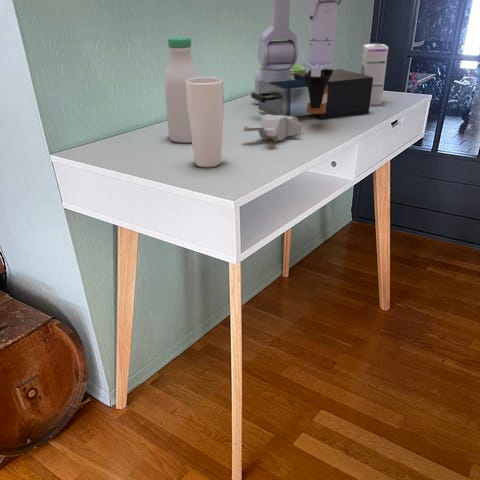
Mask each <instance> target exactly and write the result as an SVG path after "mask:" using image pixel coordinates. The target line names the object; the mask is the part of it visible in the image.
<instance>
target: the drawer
mask: <svg viewBox="0 0 480 480" xmlns="http://www.w3.org/2000/svg"><path fill="white" fill-rule="evenodd" d="M250 97H251V99H253V100H254V101H255V100H258V101H259V102H258V104H257V105H258V106H257V107H258V108H257V109H258V110H260V111H262V112H264V113H266V114H270V115H277V116H278V115H283V116H290V117H300V116H301V117H302V116H308V115H309V114H311V113H308V112H307V104H308V102H307V101H308V86H307V83H306V81H305V80H303V79H300V78H299V79H289V80H278V81H269V83H268V82H265V81H259V94H257V93H255V91H254V92H251V94H250ZM309 116H310V115H309Z"/></svg>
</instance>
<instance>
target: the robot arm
mask: <svg viewBox="0 0 480 480" xmlns="http://www.w3.org/2000/svg"><path fill="white" fill-rule="evenodd" d="M342 1H343V0H306V2H307V16H309V25H308V41H307V58H306V60H303V61H301V67H303V66H305V67H306V68H308V69H309V70H308V71H307V72H308V73H309V74H305V76H304V77H305V81H306V83H307V86H308V90H309V97H310V105H311V108H320V107H321V104H322V99H323V94H324V90H325V87H326V85H327V84H328V81H329V79H330V77H331V75H332V73H333V70H334V69H333V67H334V64H335V62H334V51H335V40H336V28H337V19H338V18H337V17H338V6H339V5H340V4H341V3H342ZM290 14H291V0H270V25H269V27H268V28H266V30H265V31H263V32H262V33H261V34H260V35H259V43H258V47H257V48H258V49H257V60H258V63H259V65H260V66H261V67H258V68H257V69H256V70H255V71H256V72H255V76H254V93H257V94H259V81H265V82H268V83H269V81H278V80H289V79H290V70H291V68H293V65H294V64H297V61H298V57H299V46H298V36H297V34H296V32H294V31H293V30H292V29H291V28H290ZM283 40H284V41H283ZM331 68H332V69H331ZM322 72H324V76H323V74H322ZM258 102H259V101H258V100H255V99H254V101H253V104H254V105H258Z"/></svg>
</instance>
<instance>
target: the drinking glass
mask: <svg viewBox="0 0 480 480" xmlns="http://www.w3.org/2000/svg"><path fill="white" fill-rule="evenodd" d="M224 100H225V99H224V83H223V79H221V78H220V77H213V76H199V77H198V78H191V79H188V80H186V101H187V110H188V117H189V124H190V130H191V137H192V142H191V143H192V151H193V152H192V153H193V162H194V164H195V165H196V166H197V167H200V168H214V167H218V166H219V165H221V163H222V159H223V157H222V150H223V149H222V146H223V128H224V127H223V125H224V105H225V103H224V102H225V101H224Z"/></svg>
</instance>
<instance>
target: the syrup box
mask: <svg viewBox="0 0 480 480" xmlns="http://www.w3.org/2000/svg"><path fill="white" fill-rule="evenodd" d="M388 52H389V46H388V45H386V44H384V43H367V44H363V48H362V58H361V69H360V74H362V75H366V76H370V77H373V84H372V92H371V99H370V106H382V102H383V94H384V87H385V78H386V72H387V71H386V70H387V61H388V54H389V53H388Z"/></svg>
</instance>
